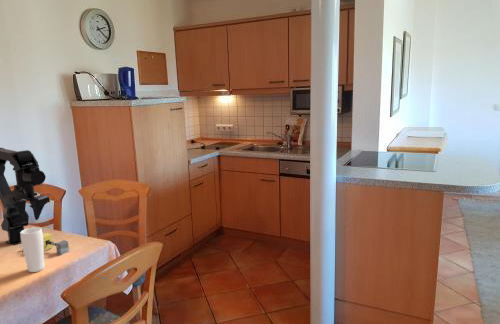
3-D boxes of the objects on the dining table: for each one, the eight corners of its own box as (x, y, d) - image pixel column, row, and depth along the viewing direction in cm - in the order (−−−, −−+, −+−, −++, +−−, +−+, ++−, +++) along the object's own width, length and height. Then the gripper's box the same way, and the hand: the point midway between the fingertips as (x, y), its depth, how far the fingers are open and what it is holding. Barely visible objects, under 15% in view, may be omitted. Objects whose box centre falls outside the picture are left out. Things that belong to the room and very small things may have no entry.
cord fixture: (27, 249, 149) (25, 239, 149) (39, 244, 154) (38, 234, 154) (59, 255, 143) (58, 245, 142) (71, 250, 148) (69, 240, 147)
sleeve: (36, 249, 148) (34, 236, 147) (45, 245, 152) (43, 232, 151) (43, 251, 147) (42, 238, 146) (53, 246, 151) (51, 234, 150)
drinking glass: (37, 274, 128) (31, 234, 125) (21, 273, 129) (15, 233, 127) (51, 265, 135) (46, 227, 132) (35, 264, 136) (30, 226, 133)
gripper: (-12, 184, 143) (-6, 222, 146) (22, 188, 136) (27, 228, 139) (15, 178, 153) (20, 213, 156) (48, 181, 146) (52, 218, 149)
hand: (29, 218), depth 150 cm, fingers open, 8 cm apart
